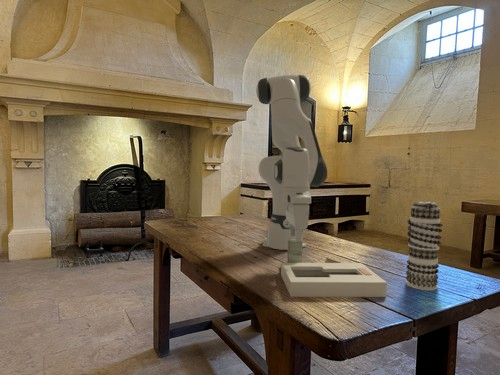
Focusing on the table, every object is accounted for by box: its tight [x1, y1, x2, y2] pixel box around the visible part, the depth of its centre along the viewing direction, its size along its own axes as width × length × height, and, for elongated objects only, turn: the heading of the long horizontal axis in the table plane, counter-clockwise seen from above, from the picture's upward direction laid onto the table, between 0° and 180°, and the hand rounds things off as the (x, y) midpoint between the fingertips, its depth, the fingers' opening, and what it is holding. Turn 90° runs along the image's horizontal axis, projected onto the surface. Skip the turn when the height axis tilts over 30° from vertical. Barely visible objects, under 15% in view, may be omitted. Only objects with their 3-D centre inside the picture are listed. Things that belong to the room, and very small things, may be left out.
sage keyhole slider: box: [286, 239, 303, 263], centre depth 111 cm, size 8×8×10 cm
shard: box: [324, 257, 341, 263], centre depth 119 cm, size 11×8×2 cm
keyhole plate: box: [280, 262, 388, 298], centre depth 99 cm, size 18×26×4 cm
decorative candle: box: [405, 201, 443, 292], centre depth 100 cm, size 9×9×25 cm
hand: (295, 238), depth 110 cm, fingers open, 8 cm apart
